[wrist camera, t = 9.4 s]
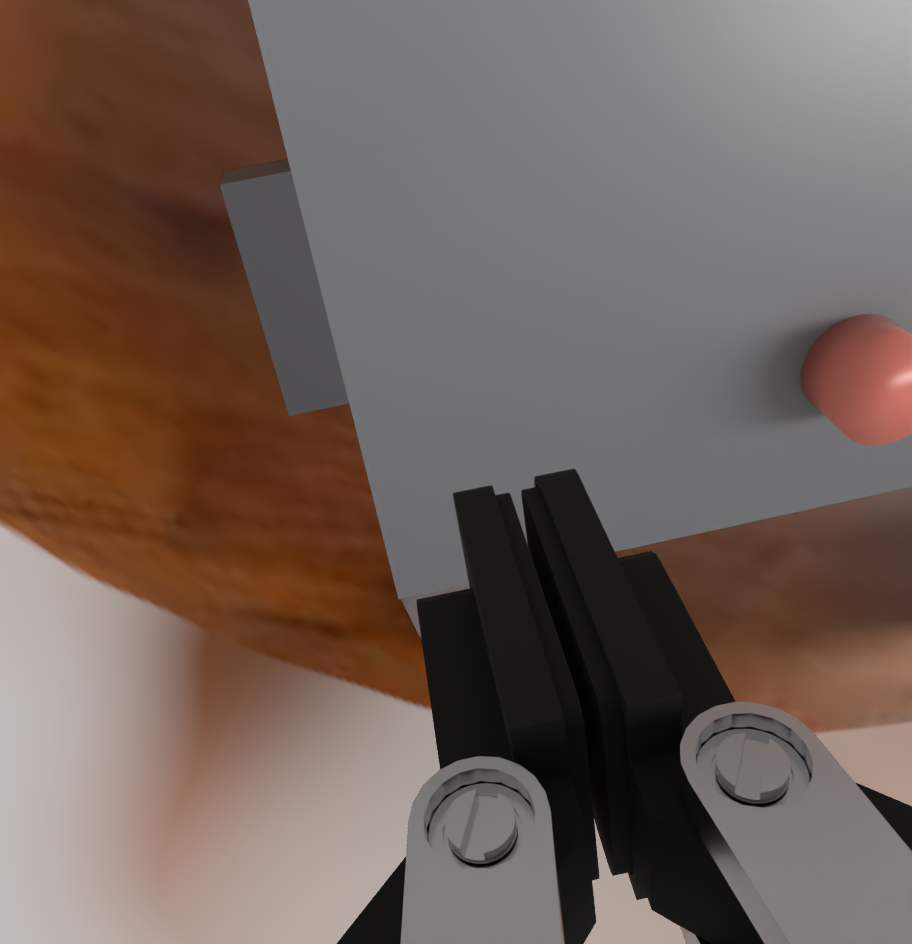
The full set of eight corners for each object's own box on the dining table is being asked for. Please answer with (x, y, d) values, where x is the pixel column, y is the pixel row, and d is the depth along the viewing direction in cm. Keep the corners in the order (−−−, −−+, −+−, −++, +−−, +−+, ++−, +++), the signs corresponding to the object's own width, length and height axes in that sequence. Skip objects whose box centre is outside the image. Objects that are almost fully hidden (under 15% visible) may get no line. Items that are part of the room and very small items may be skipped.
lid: (1182, -390, 17) (1363, -452, 14) (981, 440, 28) (1059, 500, 25) (113, -208, 16) (73, -236, 13) (344, 579, 27) (350, 657, 24)
